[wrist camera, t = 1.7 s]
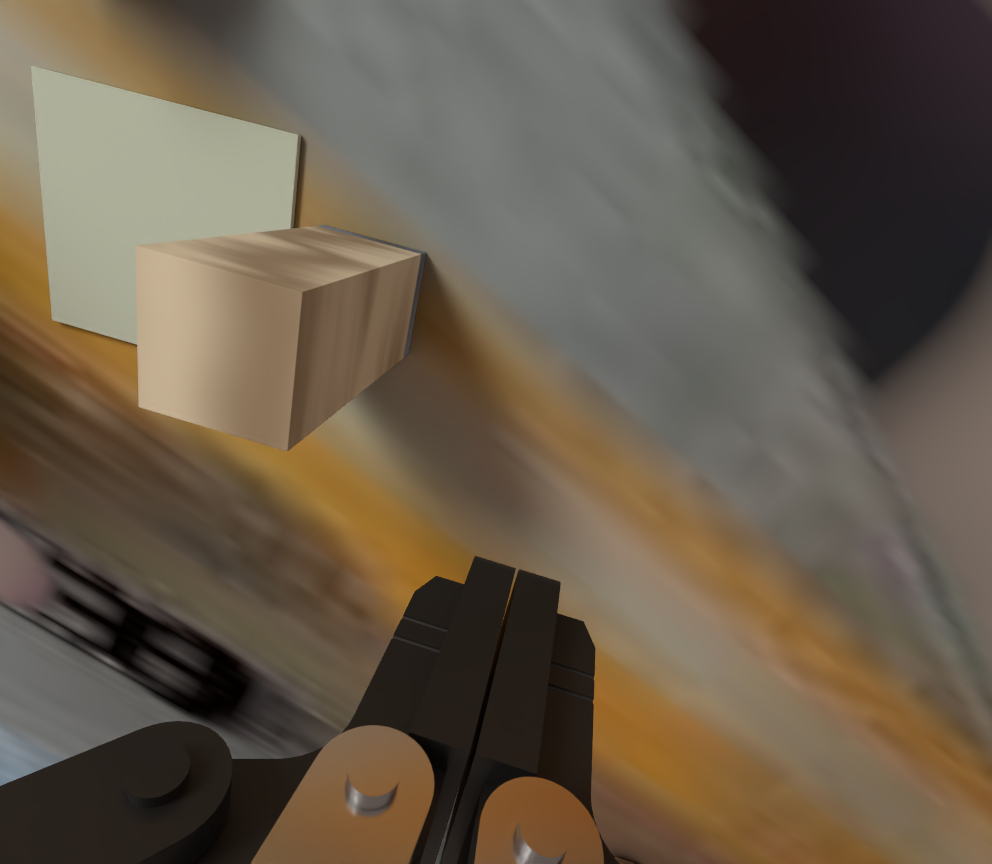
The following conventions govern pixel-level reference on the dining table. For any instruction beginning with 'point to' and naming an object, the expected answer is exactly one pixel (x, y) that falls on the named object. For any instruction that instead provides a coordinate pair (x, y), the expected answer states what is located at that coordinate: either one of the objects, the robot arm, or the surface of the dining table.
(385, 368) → the birch block
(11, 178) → the dining table surface
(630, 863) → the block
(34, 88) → the board
